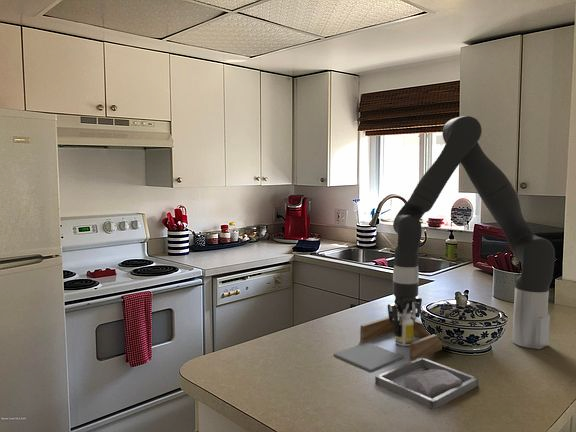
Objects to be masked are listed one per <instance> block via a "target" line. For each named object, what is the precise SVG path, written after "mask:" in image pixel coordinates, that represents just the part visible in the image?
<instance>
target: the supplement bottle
mask: <svg viewBox="0 0 576 432" xmlns="http://www.w3.org/2000/svg"><path fill="white" fill-rule="evenodd" d="M398 314H402V313H399V312H398ZM399 318H400V317H399ZM399 318H398V321H399ZM413 334H414V322H413V320H412V319H411V312H407V313H406V316H405V318H403V321H402V336H401V337H398V336H395V335H394V336H395V337H394V339H395V343H396V345H398V346H403V347H410V343H411V342H414V336H413Z"/></svg>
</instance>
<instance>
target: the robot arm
mask: <svg viewBox="0 0 576 432" xmlns="http://www.w3.org/2000/svg"><path fill="white" fill-rule="evenodd" d="M482 129H483V128H482V125H481V123H480V121H479V120H478V119H477V118H475V117H473V116H470V115H469V116H468V115H463V116H458V117H454V118H451V119H450V120H448V121H447V122H446V123H445V124H444V125H443V129H442V138H443V141H444V143H445V145H444V147H443V149H442V151H441V152H440V153H439V156H438V157H436V160H435V161H434V162H433V164H431V166H430V167H429V168H428V170H426V172H425V173H424V174H423V175H422V177H421V178H420V180H419V181H418V183H417V185H416V186H415V188H414V190H413V191H412V193H411V195H410V197H409V198H408V200H407V201H406V202H405V204H404V205H403V206H402V207H401V208H400V210H399V211H398V212H397V214H396V216H395V217H394V220H393V224H392V226H393V230H394V232H395V233H396V234H397V244H396V245H397V246H396V247H395V248H394V256H393V257H394V258H393V259H394V260H393V262H394V263H393V271H392V294H393V296H394V302H393V303H392V304H390V303H388V304H387V313H388V317H389V322H390V323H393V324H394V332H393V334H394V336H398V337H401V336H402V321H403V318H405V316H406V313H407V312H411V319H412V320H413V322H414V328H415V320H416V321H417V318H420V317H421V309H422V302H423V299H422V298H421V297H418V296H419V284H420V283H419V275H420V273H419V272H420V271H419V249H420V246H421V245H420V244H421V239H422V231H423V230H422V229H423V228H422V223H421V219H422V218H423V216H424V215H425V214H426V213H428V212H430V210H432V208H433V206H434V204H435V203H436V202H437V200H438V198H439V197H440V195H441V193H442V192H443V190H444V187H445V186H446V185H447V183H448V181H449V180H450V178H451V177H452V175H453V173H454V172H455V170H456V169H457V168H458V167H459V165H460V164H461V166H462V167H463V169H464V170H465V172H466V174H467V176H468V178H469V180H470V182H471V183H472V185H473V187H474V188H475V190H476V192H477V193H478V195H479V197H480V199H481V200H482V202H483V204H484V206H485V207H486V208H487V210H488V211H489V213H490V215H491V217H493V219H494V221H496V223H497V225H498V227H499V228H500V229H501V231H502V232H503V234H504V237H505V239H506V241H507V243H508V245H509V247H510V249H511V251H512V254H513V255H514V257H515V258H516V260H517V261H519V262H520V263H522V267H521V274H520V276H518V277H516V278H515V281H514V282H515V284H514V297H513V298H514V299H513V300H514V303H513V318H512V335H511V337H512V338H511V342H512V343H514V344H515V345H517V346H520V347H522V348H527V349H536V350H541V349H544V348H545V347H547V346H549V338H550V323H551V315H550V314H549V313H548V310H549V309H548V308H549V293H550V285H551V283H552V281H553V278H554V270H555V269H554V268H555V261H556V252H555V248H554V245H553V244H552V242H551V241H549V240H548V239H547V238H543V237H541V236H538V235H536V234H535V233H534V232H533V230H532V229H531V228H530V226H529V224H528V223H527V222H526V220H525V218H524V216H523V213H522V208H521V203H520V199H519V196H518V194H517V191H516V190H515V187H514V186H513V185H512V183H511V182H510V179H509V178H508V177H507V176H506V175H505V173H504V172H503V171H502V170H501V169H500V168H499V167H498V166H497V165H496V164H495V163H494V162H493V160H491V159H490V158H489V157H488V156H487V155H486V154H485V151H483V148H482V147H481V146H480V144H479V141H480V139H481V136H482V131H483V130H482ZM415 309H416V310H415ZM398 312H399V313H402V314H398ZM393 317H394V319H393ZM398 317H400V318H399V321H398Z"/></svg>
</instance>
